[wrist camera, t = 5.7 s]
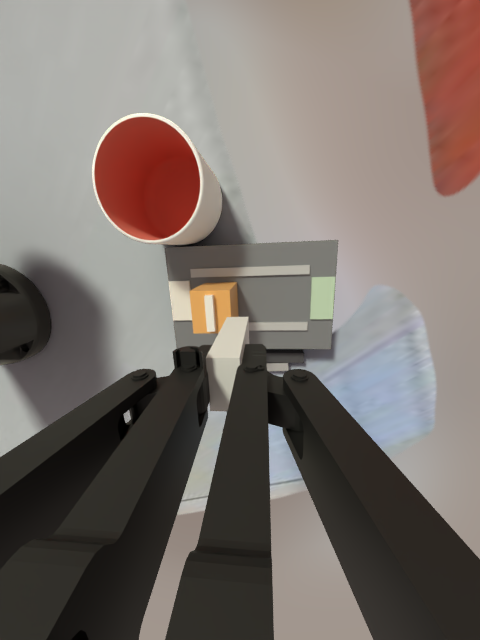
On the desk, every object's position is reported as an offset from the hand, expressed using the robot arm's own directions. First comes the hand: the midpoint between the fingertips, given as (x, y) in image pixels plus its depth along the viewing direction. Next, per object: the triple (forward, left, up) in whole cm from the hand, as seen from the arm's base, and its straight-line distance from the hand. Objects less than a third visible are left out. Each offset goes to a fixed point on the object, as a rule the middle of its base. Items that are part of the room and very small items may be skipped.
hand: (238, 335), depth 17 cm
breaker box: (0, 0, -16) cm, 16 cm away
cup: (-8, +12, -16) cm, 22 cm away
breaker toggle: (-4, 0, -13) cm, 13 cm away
